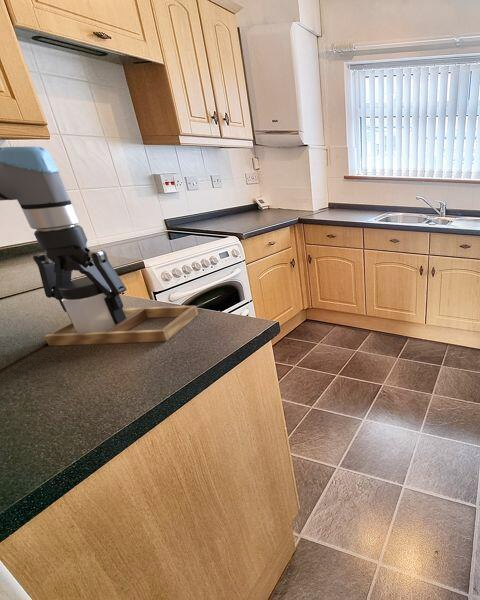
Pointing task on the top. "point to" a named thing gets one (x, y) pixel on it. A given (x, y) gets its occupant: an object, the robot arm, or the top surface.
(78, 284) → the jar
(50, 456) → the top surface
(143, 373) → the top surface
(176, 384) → the top surface
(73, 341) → the organiser
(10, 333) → the top surface
